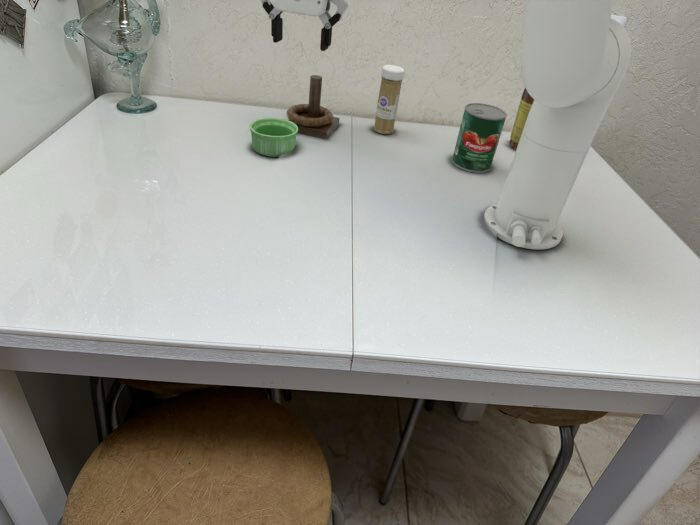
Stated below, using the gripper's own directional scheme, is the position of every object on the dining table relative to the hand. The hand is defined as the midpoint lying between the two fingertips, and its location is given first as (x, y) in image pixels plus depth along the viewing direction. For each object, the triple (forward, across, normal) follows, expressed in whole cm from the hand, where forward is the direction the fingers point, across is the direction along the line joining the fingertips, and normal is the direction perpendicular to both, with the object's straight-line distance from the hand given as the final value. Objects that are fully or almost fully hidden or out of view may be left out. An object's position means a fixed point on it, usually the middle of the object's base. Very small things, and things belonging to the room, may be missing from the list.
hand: (300, 45), depth 95 cm
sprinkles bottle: (+16, +17, +7) cm, 25 cm away
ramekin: (+16, 0, -14) cm, 21 cm away
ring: (+14, +2, 0) cm, 14 cm away
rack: (+16, +3, 0) cm, 16 cm away
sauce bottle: (+17, +47, +14) cm, 52 cm away
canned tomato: (+17, +37, -1) cm, 41 cm away
